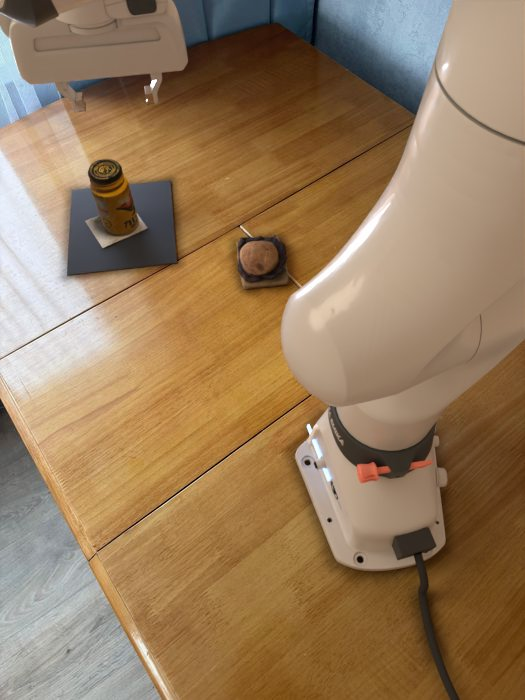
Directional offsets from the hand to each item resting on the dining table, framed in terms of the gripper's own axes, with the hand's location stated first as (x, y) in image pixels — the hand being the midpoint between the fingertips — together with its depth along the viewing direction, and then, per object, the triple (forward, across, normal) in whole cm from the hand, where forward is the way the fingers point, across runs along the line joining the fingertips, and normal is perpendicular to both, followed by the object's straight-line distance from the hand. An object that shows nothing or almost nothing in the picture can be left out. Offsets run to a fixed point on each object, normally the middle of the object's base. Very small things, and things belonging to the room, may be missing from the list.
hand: (116, 105), depth 70 cm
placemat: (+25, -5, +4) cm, 26 cm away
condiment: (+25, -6, +4) cm, 26 cm away
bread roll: (+25, +18, -8) cm, 32 cm away
